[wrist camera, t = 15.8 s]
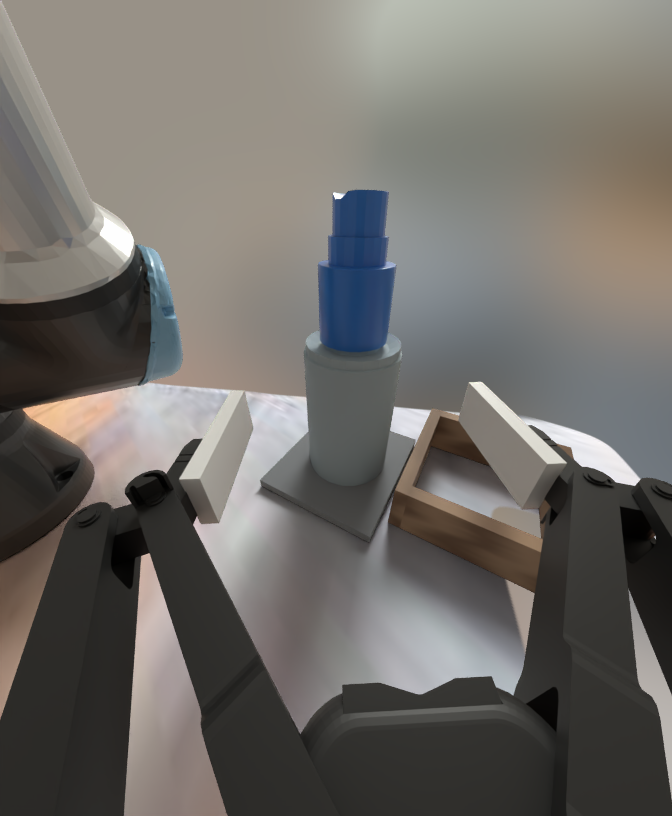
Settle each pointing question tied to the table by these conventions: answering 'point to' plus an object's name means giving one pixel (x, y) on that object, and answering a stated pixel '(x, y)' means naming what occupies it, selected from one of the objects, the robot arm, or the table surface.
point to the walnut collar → (463, 511)
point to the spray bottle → (353, 345)
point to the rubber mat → (339, 487)
